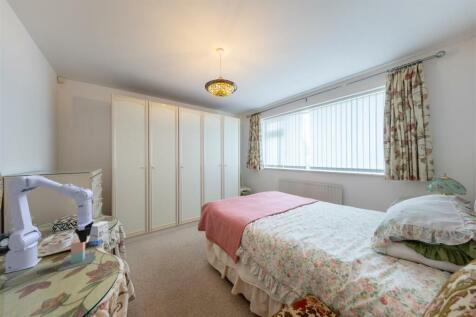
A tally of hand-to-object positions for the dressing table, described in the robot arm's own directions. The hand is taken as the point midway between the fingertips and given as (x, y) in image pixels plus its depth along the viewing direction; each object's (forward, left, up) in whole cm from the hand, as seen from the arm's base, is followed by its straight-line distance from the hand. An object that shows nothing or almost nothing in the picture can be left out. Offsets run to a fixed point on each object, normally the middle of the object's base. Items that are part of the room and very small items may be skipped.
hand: (85, 239), depth 91 cm
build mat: (-3, 0, -10) cm, 11 cm away
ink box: (+3, +19, -11) cm, 22 cm away
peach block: (-3, 0, -5) cm, 6 cm away
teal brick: (-3, 0, -10) cm, 11 cm away
